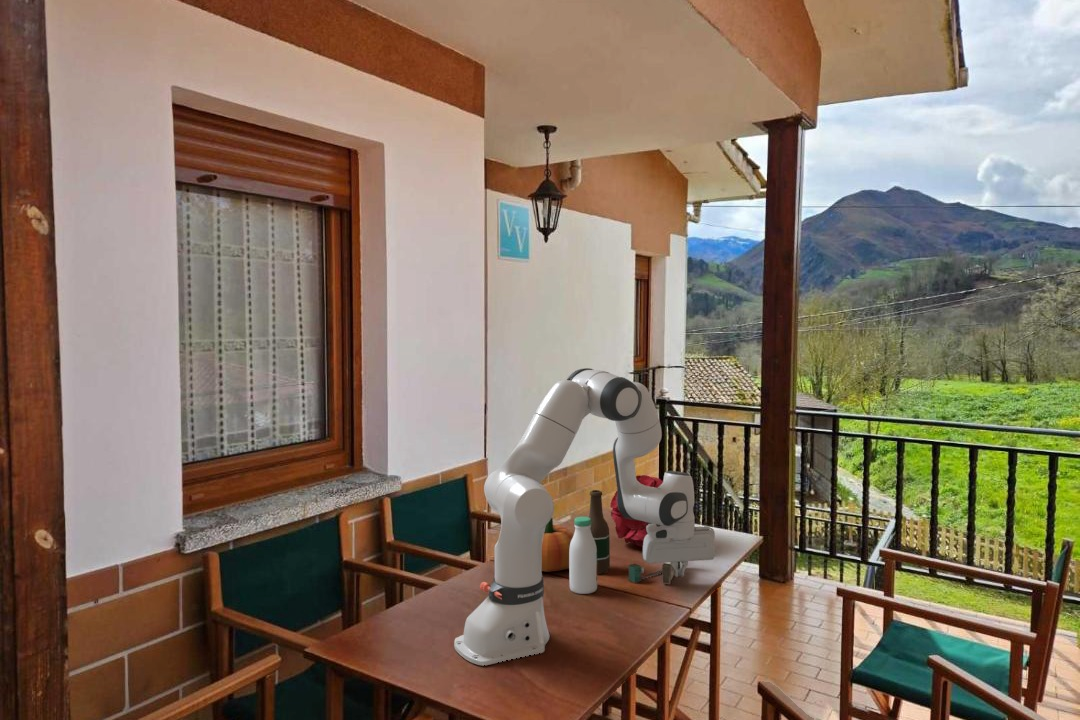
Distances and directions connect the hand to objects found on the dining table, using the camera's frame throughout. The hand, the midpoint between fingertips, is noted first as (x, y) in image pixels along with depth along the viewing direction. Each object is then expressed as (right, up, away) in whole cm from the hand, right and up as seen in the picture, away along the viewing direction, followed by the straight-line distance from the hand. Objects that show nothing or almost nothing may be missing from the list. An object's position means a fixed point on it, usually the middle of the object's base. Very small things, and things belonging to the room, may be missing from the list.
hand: (679, 575), depth 190 cm
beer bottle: (-22, -2, +11) cm, 25 cm away
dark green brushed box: (-12, -2, +3) cm, 13 cm away
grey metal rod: (-5, -2, +7) cm, 9 cm away
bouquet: (-2, -1, +32) cm, 32 cm away
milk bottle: (-27, -3, -3) cm, 27 cm away
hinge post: (+1, -2, +12) cm, 12 cm away
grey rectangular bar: (-2, -2, +5) cm, 5 cm away
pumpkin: (-37, -2, +16) cm, 40 cm away
